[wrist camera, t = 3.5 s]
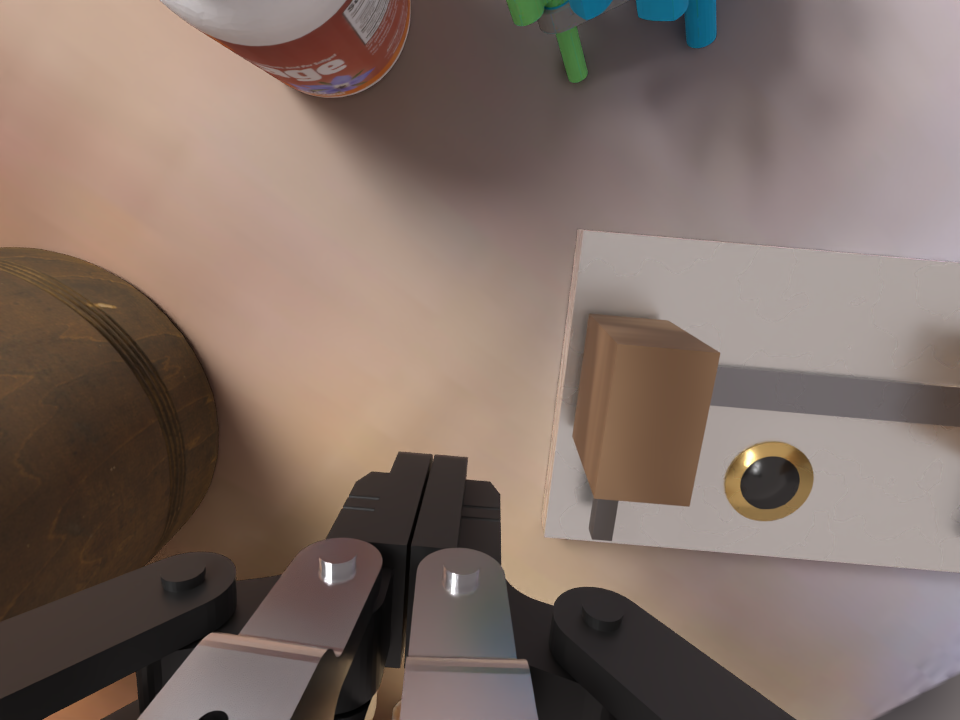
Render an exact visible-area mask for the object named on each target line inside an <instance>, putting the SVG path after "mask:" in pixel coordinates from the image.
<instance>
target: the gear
mask: <svg viewBox="0 0 960 720" xmlns="http://www.w3.org/2000/svg"><path fill="white" fill-rule="evenodd" d="M628 1H630V0H506V2H507V5H508V8H509V10H510V13H511V16H512V19H513V22H514V24H515V25H517V26H527V25H530V24H532V23H534V22H535V21H538V24H539V27H540V29H541V30H542V31H543V32H544V33H548V34H556V37H557V41H558V44H559V48H560V51H561V55H562V59H563V62H564V66H565V69H566V73H567V76H568V80H569V81H570V82H572V83H577V82H580V81H582V80H584V79H585V78H586V76H587V74H588V71H587V67H586V63H585V59H584V54H583V50H582V46H581V42H580V38H579V34H578V30H577V26H578V25H580V24H582V23H584V22H586V21H588V20H590V19H592V18H594V17H596V16H598V15H601V14H603V13H605V12H607V11H609V10H611V9H613V8H615V7H617V6H619V5H621V4H623V3H626V2H628ZM636 5H637V12H638V17H639V18H642V19H645V20H651V21H675V20H677V19H678V18H679V17H681V16H682V15H683V14H684V13H685V28H686V42H687V45H688V46H689V47H691V48H702V47H705V46H708V45H709V44H711V43H712V42H713V41H714V40H715V38H716V35H717V27H716V0H636Z"/></svg>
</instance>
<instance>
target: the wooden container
mask: <svg viewBox="0 0 960 720" xmlns="http://www.w3.org/2000/svg"><path fill="white" fill-rule="evenodd" d="M217 451H218V424H217V414H216V407H215V403H214V399H213V394H212V391H211V388H210V386H209V383H208V380H207V377H206V375H205V374H204V372H203V369H202V367H201V364H200V362H199V361H198V359H197V358H196V356H195V354H194V352H193V350H192V349H191V347H190V346H189V344H188V343H187V341H186V340H185V338H184V336H183V335H182V333H181V332H180V331H179V330H178V329H177V328H176V327H175V326H174V325H173V324H172V322H171V321H170V320H169V319H168V317H167V316H166V315H165V314H164V313H163V312H162V311H161V310H159V309H158V307H157V306H156V305H155V304H153V303H152V302H151V301H150V300H149V299H148V298H147V297H146V296H145V295H144V294H142V293H141V292H139V291H138V290H137V289H135V288H134V287H133V286H131V285H130V284H129V283H127V282H126V281H124V280H123V279H121V278H119V277H117V276H115V275H113V274H111V273H110V272H108V271H106V270H104V269H102V268H100V267H98V266H96V265H94V264H91V263H89V262H86V261H83V260H81V259H79V258H75V257H72V256H69V255H65V254H61V253H57V252H52V251H47V250H42V249H35V248H20V247H4V248H0V622H2V621H4V620H7V619H9V618H12V617H15V616H17V615H20V614H22V613H25V612H28V611H30V610H33V609H35V608H38V607H41V606H43V605H46V604H48V603H51V602H53V601H56V600H59V599H61V598H64V597H66V596H69V595H72V594H74V593H77V592H79V591H82V590H85V589H87V588H90V587H92V586H95V585H98V584H100V583H103V582H105V581H108V580H110V579H113V578H116V577H118V576H121V575H123V574H126V573H129V572H131V571H134V570H136V569H139V568H142V567H144V566H145V565H146V564H147V563H148V562H149V561H150V560H151V559H152V558H153V557H154V556H155V555H156V554H157V553H158V551H159V550H160V549H161V548H162V547H163V546H164V545H165V544H166V543H167V542H168V541H169V540H170V539H171V538H172V537H173V536H174V535H175V534H176V533H177V531H178V530H179V529H180V528H181V527H182V526H183V525H184V524H185V523H186V521H187V520H188V519H189V518H190V516H191V515H192V514H193V513H194V511H195V510H196V509H197V507H198V506H199V504H200V503H201V501H202V499H203V497H204V495H205V494H206V492H207V490H208V487H209V485H210V482H211V479H212V476H213V472H214V468H215V463H216V460H217Z"/></svg>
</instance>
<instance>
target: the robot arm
mask: <svg viewBox="0 0 960 720" xmlns="http://www.w3.org/2000/svg"><path fill="white" fill-rule="evenodd" d="M467 463H468V457H458V456H447V455H435V456H434V459H433V455H432V454H422V453H411V452H398V455H397V457H396V459H395V462H394V464H393V466H392V469H391V471H390V473H383V472H370V473H369V474H367V475H366V476H364V477H363V478H361V479H360V480H358V481H357V482H356V483H355V485H354V487H353V489H352V491H351V492H350V494H349V498H347V500H346V502H345V504H344V506H343V509H341V511H340V513H339V515H338V517H337V519H336V521H335V523H334V524H333V526H332V528H331V530H330V532H329V534H328V536H327V538H326V540H322V541H319V542H316V543H313V544H311V545H309V546H307V547H306V548H304V549H303V550H301V551H300V552H299V553H298V554H297V555H296V556H295V558H294V559H293V560H292V562H291V563H290V565H289V566H288V567H287V569H286V570H285V571H284V573H283V574H281V575H277V576H271V577H265V578H257V579H248V580H240V581H236V568H235V565H234V563H233V562H232V561H231V560H230V559H228V558H227V557H225V556H223V555H220V554H216V553H211V552H190V553H184V554H179V555H175V556H171V557H168V558H165V559H162V560H160V561H157V562H155V563H152V564H149V565H147V566H144V567H142V568H139V569H136V570H134V571H131V572H129V573H126V574H123V575H121V576H118V577H116V578H113V579H110V580H108V581H105V582H103V583H100V584H98V585H95V586H92V587H90V588H87V589H85V590H82V591H79V592H77V593H74V594H72V595H69V596H66V597H64V598H61V599H59V600H56V601H53V602H51V603H48V604H46V605H43V606H41V607H38V608H35V609H33V610H30V611H28V612H25V613H22V614H20V615H17V616H15V617H12V618H9V619H7V620H4V621H2V622H0V720H42V719H44V718H46V717H48V716H50V715H51V714H53V713H55V712H57V711H59V710H61V709H63V708H65V707H67V706H69V705H71V704H73V703H75V702H77V701H79V700H81V699H83V698H85V697H87V696H89V695H91V694H93V693H95V692H97V691H98V690H100V689H102V688H104V687H106V686H108V685H110V684H112V683H114V682H116V681H118V680H120V679H122V678H124V677H126V676H128V675H130V674H132V673H134V672H136V677H137V689H138V700H136V701H134V702H132V703H130V704H128V705H127V706H125V707H123V708H121V709H119V710H117V711H116V712H114V713H112V714H110V715H108V716H106V717H105V718H103V719H101V720H372V719H373V716H374V713H375V710H376V702H377V690H378V688H379V686H380V683H381V680H382V676H383V672H384V668H385V667H391V668H400V667H401V662H402V657H403V653H404V648H405V663H404V668H405V673H404V683H403V692H402V702H401V711H400V720H796V719H794V718H793V717H792V716H790V715H789V714H788V713H786V712H785V711H783V710H782V709H781V708H779V707H778V706H776V705H775V704H774V703H772V702H771V701H770V700H768V699H767V698H765V697H764V696H763V695H761V694H760V693H758V692H757V691H756V690H754V689H753V688H751V687H750V686H749V685H747V684H746V683H745V682H743V681H742V680H740V679H739V678H738V677H736V676H735V675H733V674H732V673H731V672H729V671H728V670H726V669H725V668H724V667H722V666H721V665H720V664H718V663H717V662H715V661H714V660H713V659H711V658H710V657H708V656H707V655H706V654H704V653H703V652H701V651H700V650H699V649H697V648H696V647H695V646H693V645H692V644H690V643H689V642H688V641H686V640H685V639H683V638H682V637H681V636H679V635H678V634H677V633H675V632H674V631H672V630H671V629H670V628H668V627H667V626H665V625H664V624H663V623H661V622H660V621H658V620H657V619H656V618H654V617H653V616H652V615H650V614H649V613H647V612H646V611H645V610H643V609H642V608H640V607H639V606H638V605H636V604H635V603H633V602H632V601H631V600H629V599H627V598H626V597H624V596H622V595H620V594H618V593H615V592H613V591H610V590H606V589H602V588H596V587H579V588H574V589H571V590H568V591H566V592H564V593H562V594H561V595H560V596H559V597H558V598H557V600H556V601H555V603H554V606H553V605H550V604H546V603H543V602H540V601H537V600H535V599H532V598H530V597H528V596H526V595H524V594H522V593H520V592H519V591H517V590H516V589H515V588H514V587H512V586H511V585H510V584H509V582H508V581H507V580H506V578H505V574H504V570H503V568H502V567H501V522H500V520H501V517H500V493H499V492H498V491H497V490H496V488H495V487H494V486H493V485H492V483H491V482H488V481H476V480H466V476H467ZM405 643H406V645H405Z"/></svg>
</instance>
